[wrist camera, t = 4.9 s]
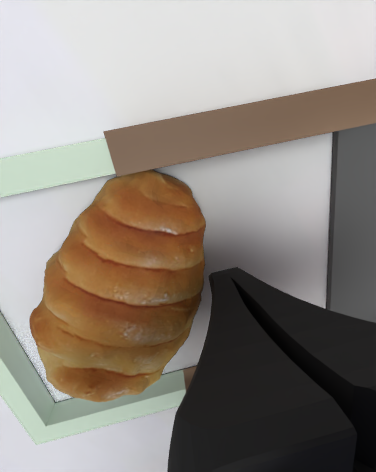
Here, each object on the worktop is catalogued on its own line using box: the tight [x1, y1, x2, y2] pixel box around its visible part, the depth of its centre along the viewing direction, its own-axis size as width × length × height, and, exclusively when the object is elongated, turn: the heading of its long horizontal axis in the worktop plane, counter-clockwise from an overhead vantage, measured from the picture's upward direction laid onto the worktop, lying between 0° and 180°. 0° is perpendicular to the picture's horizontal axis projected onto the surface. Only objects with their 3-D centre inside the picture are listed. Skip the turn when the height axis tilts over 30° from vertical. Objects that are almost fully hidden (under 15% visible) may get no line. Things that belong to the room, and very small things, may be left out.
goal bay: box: [0, 138, 186, 445], centre depth 11 cm, size 14×8×1 cm, turn 11°
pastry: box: [30, 170, 206, 402], centre depth 9 cm, size 9×7×4 cm
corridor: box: [104, 79, 376, 391], centre depth 10 cm, size 14×9×3 cm, turn 11°
